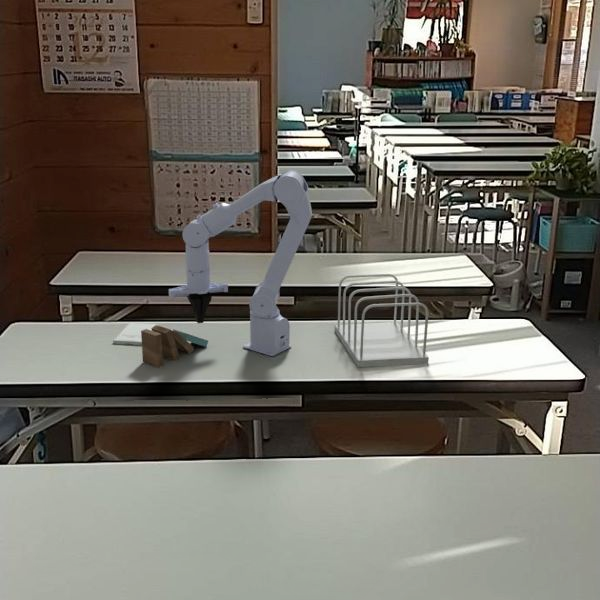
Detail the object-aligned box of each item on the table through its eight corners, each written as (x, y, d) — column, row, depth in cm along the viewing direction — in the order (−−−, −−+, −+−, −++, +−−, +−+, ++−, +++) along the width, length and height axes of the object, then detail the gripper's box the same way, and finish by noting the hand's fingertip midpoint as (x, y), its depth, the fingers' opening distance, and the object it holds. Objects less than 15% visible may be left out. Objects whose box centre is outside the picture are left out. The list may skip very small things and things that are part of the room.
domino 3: (179, 343, 183) (162, 327, 177) (194, 347, 180) (177, 332, 174) (176, 348, 182) (158, 333, 176) (191, 353, 179) (173, 337, 173)
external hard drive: (159, 330, 196) (144, 347, 184) (129, 328, 196) (113, 345, 185) (158, 324, 195) (144, 341, 183) (128, 322, 196) (112, 339, 184)
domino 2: (164, 351, 179) (155, 324, 175) (179, 356, 176) (170, 329, 172) (160, 355, 178) (151, 328, 174) (174, 360, 175) (166, 333, 171)
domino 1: (148, 360, 175) (146, 328, 172) (162, 365, 172) (161, 333, 170) (142, 362, 174) (141, 330, 171) (157, 367, 171) (156, 335, 168)
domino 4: (193, 336, 186) (173, 329, 180) (208, 340, 184) (188, 334, 177) (191, 342, 186) (171, 335, 180) (206, 346, 183) (186, 340, 177)
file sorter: (428, 364, 175) (433, 302, 170) (357, 369, 172) (360, 306, 167) (396, 327, 199) (400, 272, 194) (333, 331, 195) (335, 274, 191)
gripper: (173, 277, 173) (175, 331, 177) (231, 270, 178) (232, 323, 183) (165, 269, 179) (167, 321, 183) (222, 263, 184) (223, 314, 189)
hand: (199, 321), depth 183 cm, fingers closed
